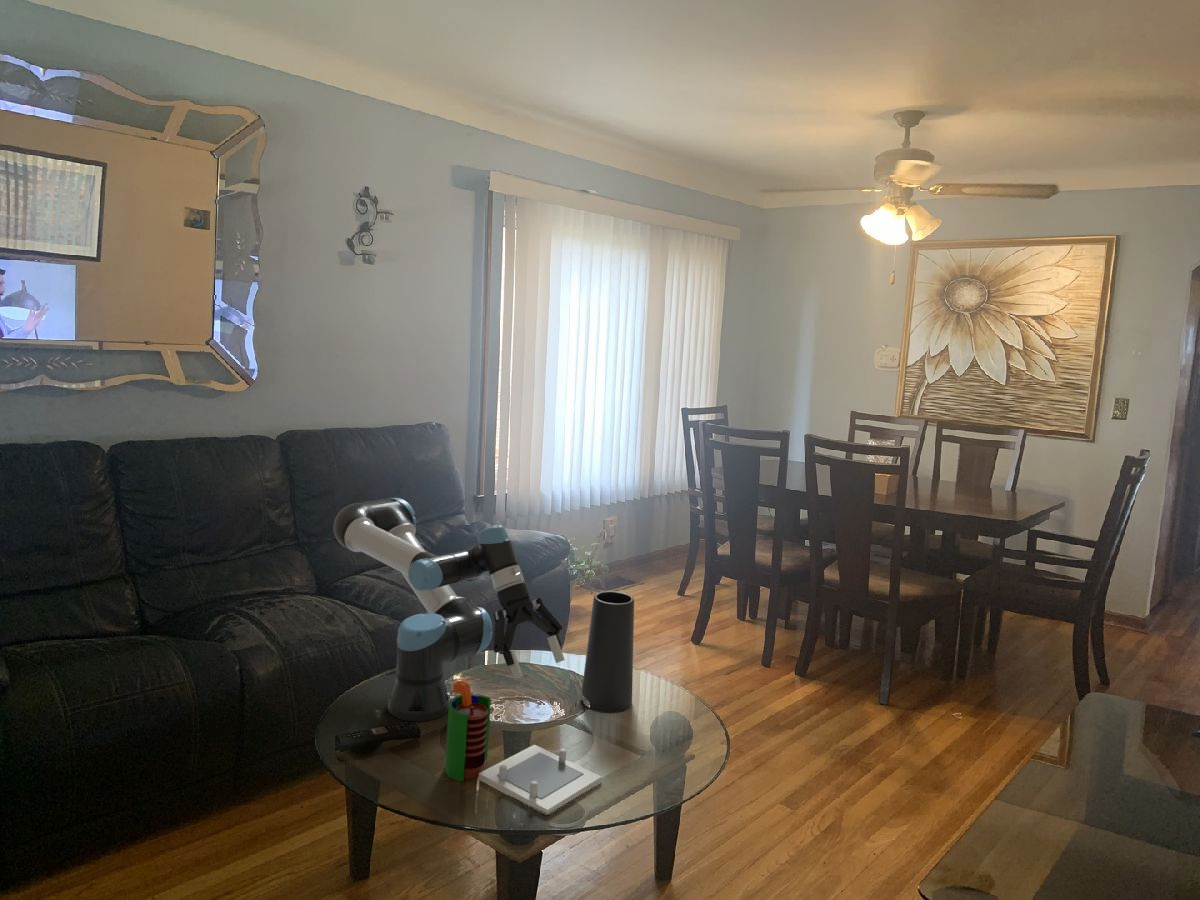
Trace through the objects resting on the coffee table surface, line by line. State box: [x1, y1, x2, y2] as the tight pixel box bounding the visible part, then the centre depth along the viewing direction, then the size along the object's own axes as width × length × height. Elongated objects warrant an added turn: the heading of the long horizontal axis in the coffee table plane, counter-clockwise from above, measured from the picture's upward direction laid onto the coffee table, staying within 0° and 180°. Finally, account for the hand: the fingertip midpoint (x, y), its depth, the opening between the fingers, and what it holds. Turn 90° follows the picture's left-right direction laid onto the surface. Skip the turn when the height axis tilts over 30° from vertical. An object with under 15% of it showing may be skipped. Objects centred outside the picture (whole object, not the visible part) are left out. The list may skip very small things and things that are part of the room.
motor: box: [444, 680, 492, 782], centre depth 196 cm, size 10×9×20 cm
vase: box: [581, 590, 635, 714], centre depth 234 cm, size 14×14×29 cm
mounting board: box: [478, 744, 602, 813], centre depth 195 cm, size 20×18×4 cm
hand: (540, 669), depth 214 cm, fingers open, 13 cm apart
